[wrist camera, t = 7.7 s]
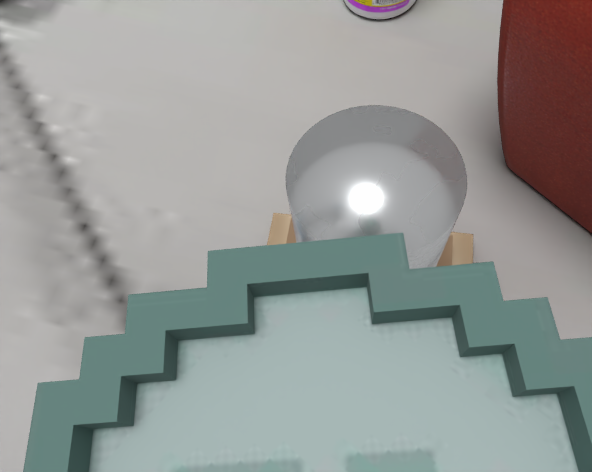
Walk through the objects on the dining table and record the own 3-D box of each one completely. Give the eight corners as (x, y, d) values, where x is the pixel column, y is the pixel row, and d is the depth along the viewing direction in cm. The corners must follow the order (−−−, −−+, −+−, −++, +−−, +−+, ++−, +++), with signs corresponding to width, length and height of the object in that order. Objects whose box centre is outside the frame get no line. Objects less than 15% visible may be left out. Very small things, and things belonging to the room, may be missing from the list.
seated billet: (303, 352, 29) (270, 246, 16) (318, 259, 32) (300, 99, 18) (407, 367, 28) (465, 268, 15) (414, 271, 31) (468, 111, 18)
